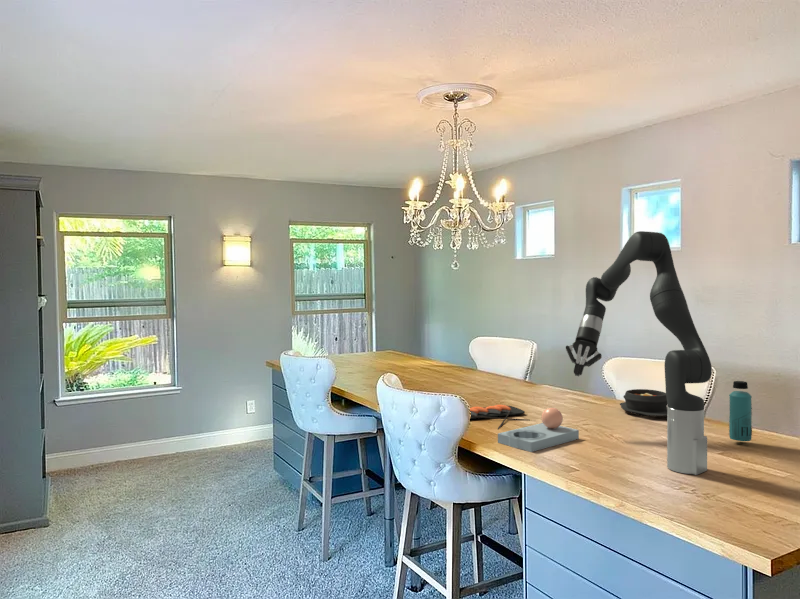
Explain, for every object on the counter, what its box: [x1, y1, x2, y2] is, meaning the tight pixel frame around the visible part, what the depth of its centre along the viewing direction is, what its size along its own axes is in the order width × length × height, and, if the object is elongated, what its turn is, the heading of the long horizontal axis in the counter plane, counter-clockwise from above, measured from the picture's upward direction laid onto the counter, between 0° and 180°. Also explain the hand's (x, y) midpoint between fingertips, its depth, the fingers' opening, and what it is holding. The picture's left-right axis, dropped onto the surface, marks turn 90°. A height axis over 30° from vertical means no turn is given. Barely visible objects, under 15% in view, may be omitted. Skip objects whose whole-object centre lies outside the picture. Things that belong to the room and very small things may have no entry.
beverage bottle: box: [728, 380, 753, 442], centre depth 189 cm, size 6×7×20 cm
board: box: [497, 422, 580, 453], centre depth 195 cm, size 14×24×3 cm, turn 127°
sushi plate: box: [469, 404, 529, 430], centre depth 227 cm, size 29×30×4 cm
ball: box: [541, 407, 564, 429], centre depth 199 cm, size 7×7×7 cm
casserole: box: [619, 388, 667, 417], centre depth 234 cm, size 25×19×8 cm
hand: (577, 375), depth 204 cm, fingers closed
